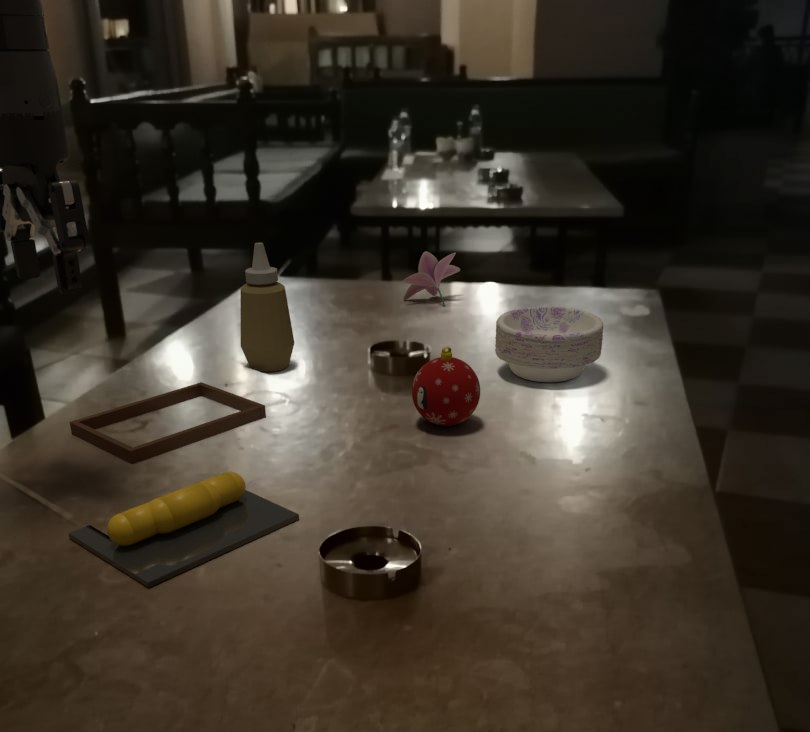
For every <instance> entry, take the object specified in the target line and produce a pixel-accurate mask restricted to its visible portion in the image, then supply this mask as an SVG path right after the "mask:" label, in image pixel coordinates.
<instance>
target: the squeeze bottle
mask: <svg viewBox="0 0 810 732" xmlns="http://www.w3.org/2000/svg"><path fill="white" fill-rule="evenodd" d="M251 265H252V266H251V267H248V268H246V269H245V270H244V275H245V281H246V282H245V283H244V284H243V285H242V286H241V287H240V348H241V350H242V353H243V355H244V357H245V360H246V361H247V364H248V366H249V368H250V369H251V370H253V371H257V372H276V371H282V370H284V369H286V368H288V367H289V366H290V363H291V358H292V355H293V352H294V351H293V350H294V346H295V338H294V332H293V326H292V320H291V315H290V309H289V303H288V297H287V291H286V287H285V285H284V284H283V283H282V282H279V274H278V268H277V267H274V266H270V265H271V264H270V263H269V260H268V256H267V252H266V248H265V245H264V243H263V242H255V243H254V247H253V256H252V263H251Z"/></svg>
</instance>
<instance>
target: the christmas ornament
mask: <svg viewBox="0 0 810 732" xmlns="http://www.w3.org/2000/svg"><path fill="white" fill-rule="evenodd" d="M411 398H412V402H413V405H414V407H415V409H416V411H417V412H418V414H419V415H420V416H421V417H422V418H423V419H424V420H426V421H427V422H429V423H431V424H433V425H436V426H441V427H451V426H455V425H458V424H461V423H463V422H465V421H466V420H467V419H469V418H470V417H471V416H472V415H473V413H474V412H475V410H476V409H477V407H478V406H479V402H480V398H481V384H480V380H479V378H478V375H477V373H476V372H475V370H474V369H473V368H472V367H471V366H470V365H469V364H468V363H467V362H465V361H464V360H462V359H460V358H457V357H453V352H452V348H451V347H450V346H445V347H442V348H441V352H440V356H439V357H436V358H432V359H431V360H429V361H427V362H426V363H425V364H423V365H422V366H421V367H420V368H419V370H418V371H417V372H416V374H415V376H414V379H413V380H412V385H411Z"/></svg>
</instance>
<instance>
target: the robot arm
mask: <svg viewBox="0 0 810 732" xmlns="http://www.w3.org/2000/svg"><path fill="white" fill-rule="evenodd" d="M44 13H45V12H44V8H43V4H42V0H0V166H1V167H0V233H1V232H4V237H5V238H6V240H7V241H8V242H10V247H11V251H12V257H13V263H14V268H15V271H16V276H17V278H19V279H21V280H24V281H25V280H32V279H38V278H40V276H41V268H40V263H39V257H38V252H37V245H36V240H35V239H33V238H34V235H35V230H36V232H37V233H38V234H39V235H41V236H43V237H44V238H45V240H46V242H47V244H48V246H49V248H50V250H51V252H52V263H53V267H54V274H55V279H56V286H57V290H58V292H59V294H62V295H65V296H68V295H73V294H79V293H81V292H82V291H83V290H84V289H83V288H84V285H83V280H82V275H81V268H80V261H79V255H78V253H79V252H81V251H82V250H83V249H89V248H90V238H89V237H90V236H89V231H88V226H87V221H86V215H85V210H84V205H83V204H84V203H83V198H82V193H81V188H80V184H79V182H78V181H77V180H76V179H72V180H61V178H60V176H59V172H58V170H57V166H58V164H59V163H64V162H66V161H68V159H69V157H70V152H69V145H68V139H67V134H66V126H65V121H64V113H63V108H62V102H61V101H62V100H61V96H60V95H61V94H60V89H59V82H58V78H57V73H56V70H55V67H54V63H53V60H52V56H51V51H50V43H49V38H48V32H47V31H48V30H47V25H46V18H45V14H44ZM74 225H75V229H74ZM75 230H76V231H75ZM56 234H57V235H56Z"/></svg>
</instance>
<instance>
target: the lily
mask: <svg viewBox="0 0 810 732" xmlns="http://www.w3.org/2000/svg"><path fill="white" fill-rule="evenodd" d="M456 253H457V252H452V253H450V254H448V255H447V256H444V257H443V258H442V259H440V260H438V258H437V257H436V256H435V255H434V254H432V253H431V252H430V251H427V250H426V251H425V250H424V252H422V255H421V257H420V259H419V261H418V267H417V269H418V272H416V273H413V274H411V275H408V276H407V277H406V278H405V277H404V279H403V280H402V283H405V284H409V287H408V288H407V289H406V291H405V294H404V295H403V301H406V300H408V299H409V298H411V297H413V296H414V295H416V294H417V293H420V292H422V291H423V290H425V291H426V292H427V293H428V294H429V295H431V296H433V297H436V296H437V294H439V297H440V300H441V303H442V305H443V307H446V304H445V301H444V298H443V295H442V293H441V290H440V285H441V281H442V280H444V279H446V278H448V277H450V276H452V275H454V274H457V273H459V272H460V271H461V268H460V267H458V266H456V265H453V264H451V262H452V261H453V259H454V257H455V256H456Z"/></svg>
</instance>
